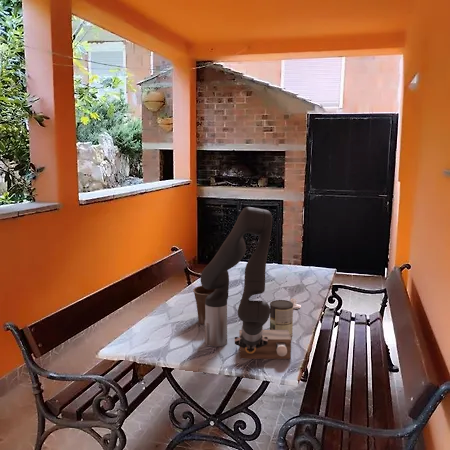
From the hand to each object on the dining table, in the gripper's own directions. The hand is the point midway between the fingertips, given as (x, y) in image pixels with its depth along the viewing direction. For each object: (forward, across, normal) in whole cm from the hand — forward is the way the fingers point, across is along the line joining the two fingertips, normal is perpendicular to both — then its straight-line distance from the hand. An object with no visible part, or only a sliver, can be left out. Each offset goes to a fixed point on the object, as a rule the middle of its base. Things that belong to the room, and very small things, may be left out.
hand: (250, 349), depth 187 cm
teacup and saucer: (+49, -23, -41) cm, 68 cm away
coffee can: (+24, -15, -16) cm, 33 cm away
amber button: (+4, 0, -1) cm, 4 cm away
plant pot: (+34, +17, -27) cm, 47 cm away
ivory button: (+2, -12, 0) cm, 12 cm away
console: (+9, -6, -2) cm, 11 cm away
